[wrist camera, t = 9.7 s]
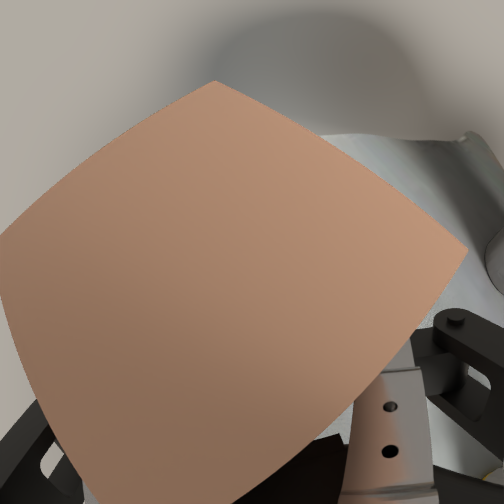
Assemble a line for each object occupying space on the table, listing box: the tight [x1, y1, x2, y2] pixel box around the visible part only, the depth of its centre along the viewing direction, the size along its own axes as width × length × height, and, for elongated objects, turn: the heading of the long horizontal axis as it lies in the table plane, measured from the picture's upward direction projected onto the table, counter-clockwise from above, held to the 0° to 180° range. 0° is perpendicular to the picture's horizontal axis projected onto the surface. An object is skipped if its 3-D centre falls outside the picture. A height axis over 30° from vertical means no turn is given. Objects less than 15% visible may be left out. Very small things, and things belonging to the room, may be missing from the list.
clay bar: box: [0, 80, 468, 504], centre depth 10 cm, size 4×4×16 cm
